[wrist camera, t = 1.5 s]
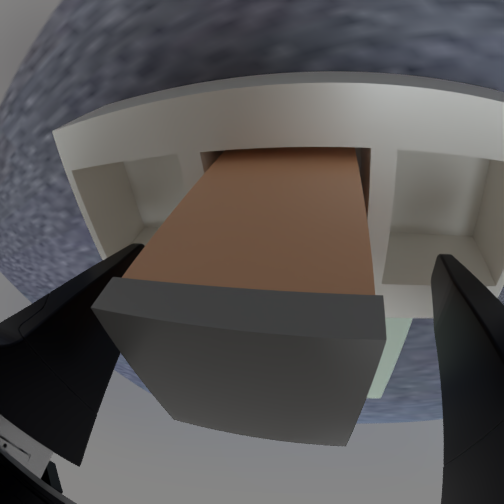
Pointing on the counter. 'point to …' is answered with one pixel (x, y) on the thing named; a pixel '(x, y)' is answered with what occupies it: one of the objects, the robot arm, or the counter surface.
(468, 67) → the counter surface
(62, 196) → the counter surface
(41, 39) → the counter surface
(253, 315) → the tan rectangular block
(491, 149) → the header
